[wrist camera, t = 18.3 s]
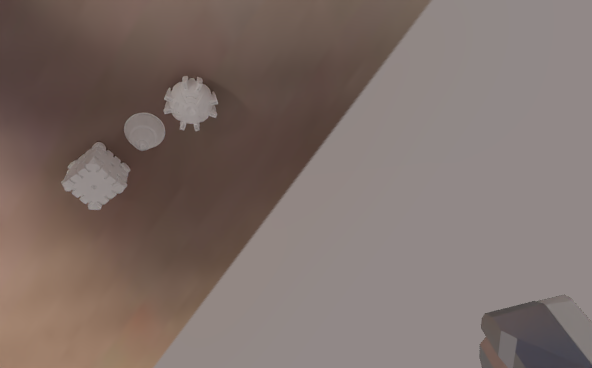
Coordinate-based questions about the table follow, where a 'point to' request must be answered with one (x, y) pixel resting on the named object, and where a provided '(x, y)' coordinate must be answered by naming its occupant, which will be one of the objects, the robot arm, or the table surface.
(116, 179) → the game pieces
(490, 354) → the robot arm
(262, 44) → the table surface
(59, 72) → the table surface
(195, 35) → the table surface
